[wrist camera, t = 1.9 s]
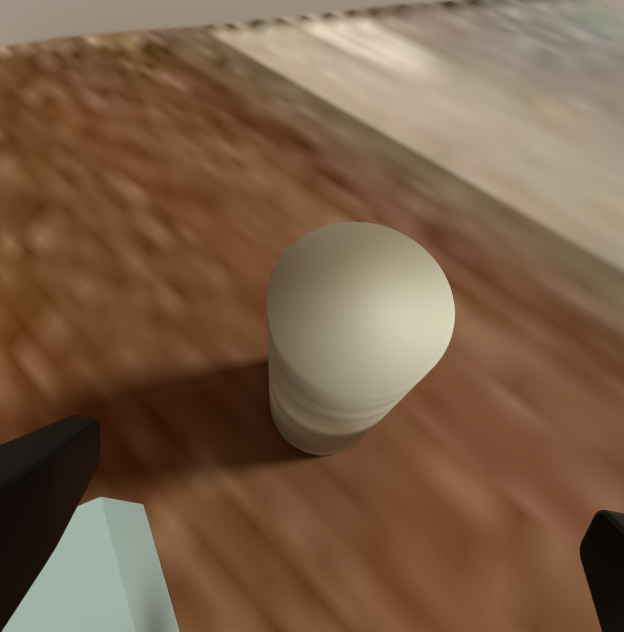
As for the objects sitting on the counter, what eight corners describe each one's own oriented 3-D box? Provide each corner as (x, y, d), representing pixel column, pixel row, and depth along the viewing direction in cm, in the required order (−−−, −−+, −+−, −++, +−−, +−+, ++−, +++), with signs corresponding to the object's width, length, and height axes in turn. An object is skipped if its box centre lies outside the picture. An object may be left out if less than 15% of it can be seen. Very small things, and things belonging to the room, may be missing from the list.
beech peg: (392, 429, 20) (490, 349, 11) (294, 473, 19) (313, 425, 10) (347, 337, 22) (400, 201, 13) (253, 373, 21) (238, 254, 12)
